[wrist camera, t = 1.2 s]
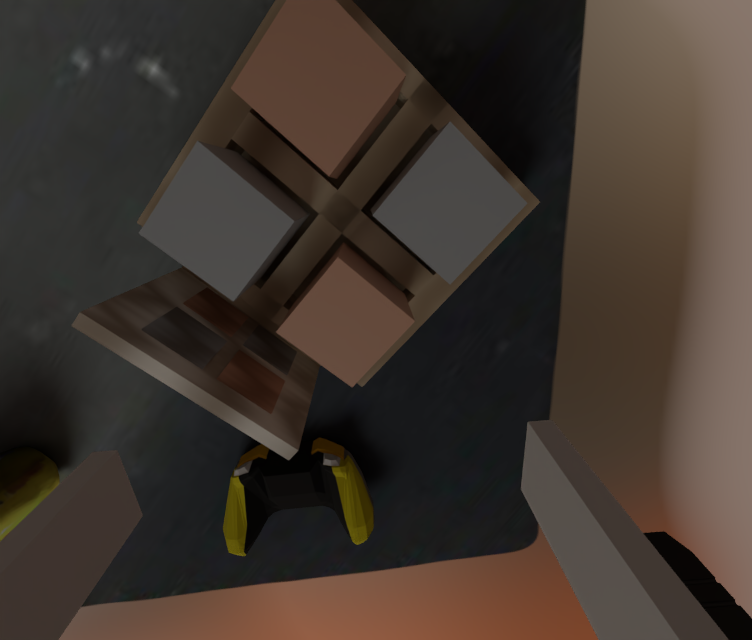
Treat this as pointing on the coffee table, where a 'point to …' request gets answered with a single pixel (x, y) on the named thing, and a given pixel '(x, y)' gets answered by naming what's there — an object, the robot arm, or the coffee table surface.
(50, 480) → the bottle
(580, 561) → the robot arm
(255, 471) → the gaming controller
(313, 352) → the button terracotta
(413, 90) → the button board
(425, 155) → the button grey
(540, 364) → the coffee table surface
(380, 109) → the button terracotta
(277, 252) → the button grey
